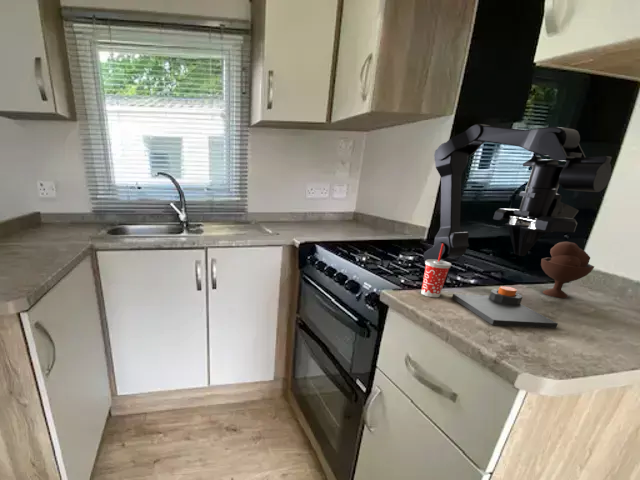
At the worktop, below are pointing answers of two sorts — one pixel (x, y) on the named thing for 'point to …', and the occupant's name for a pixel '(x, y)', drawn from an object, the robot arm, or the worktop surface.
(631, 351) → the worktop surface
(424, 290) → the beverage cup
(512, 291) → the button
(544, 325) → the scale
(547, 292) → the ice cream bowl
